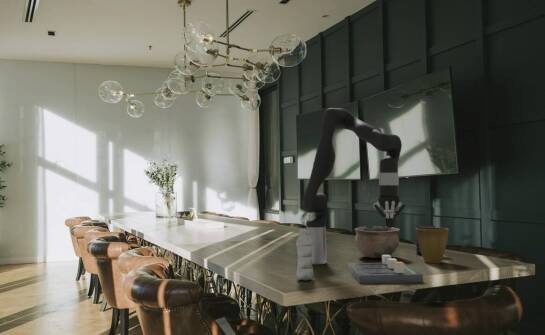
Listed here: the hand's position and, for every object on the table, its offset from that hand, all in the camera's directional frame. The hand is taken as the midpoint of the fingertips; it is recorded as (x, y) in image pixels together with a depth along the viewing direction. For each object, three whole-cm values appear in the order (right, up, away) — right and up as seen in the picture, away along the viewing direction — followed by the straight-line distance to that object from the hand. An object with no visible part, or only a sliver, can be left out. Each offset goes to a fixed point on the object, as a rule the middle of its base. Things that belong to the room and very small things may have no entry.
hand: (388, 227), depth 191 cm
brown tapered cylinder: (+34, -22, +59) cm, 71 cm away
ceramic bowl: (+7, -22, +51) cm, 56 cm away
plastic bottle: (-34, -21, -3) cm, 40 cm away
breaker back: (+2, -17, +14) cm, 22 cm away
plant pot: (+29, -21, +36) cm, 51 cm away
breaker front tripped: (+2, -16, -6) cm, 18 cm away
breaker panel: (-2, -20, +4) cm, 21 cm away
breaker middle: (+2, -17, +4) cm, 17 cm away
